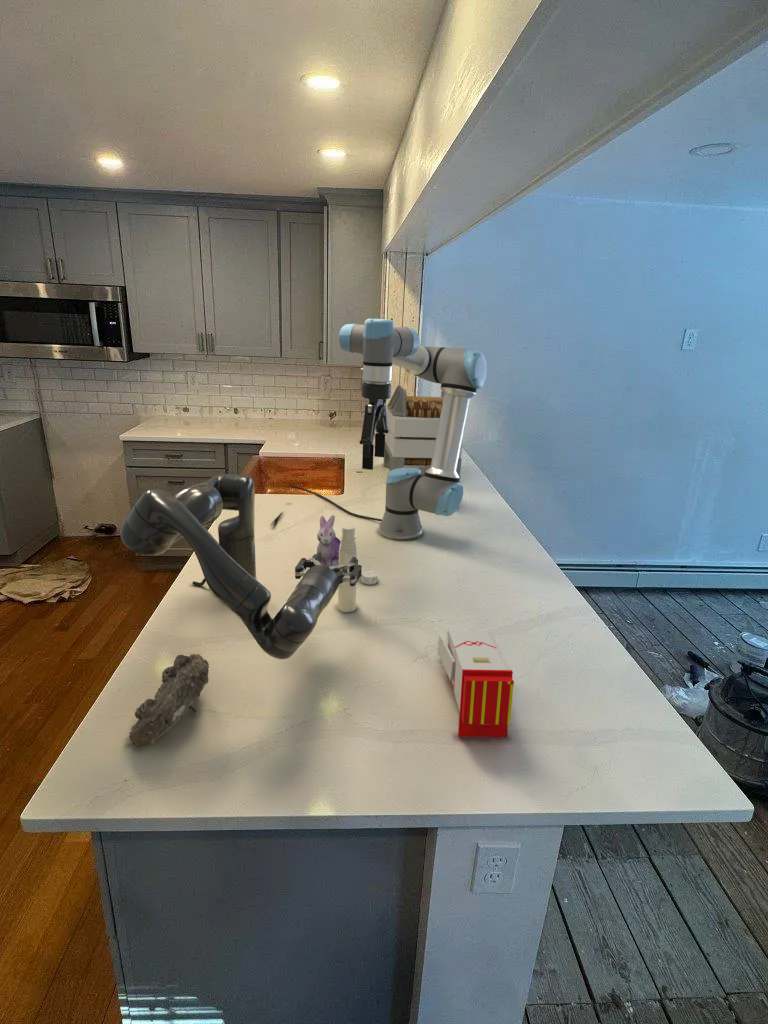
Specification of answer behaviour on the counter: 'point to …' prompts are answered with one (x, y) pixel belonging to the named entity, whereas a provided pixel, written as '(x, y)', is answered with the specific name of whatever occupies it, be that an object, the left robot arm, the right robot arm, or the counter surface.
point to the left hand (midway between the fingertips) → (337, 558)
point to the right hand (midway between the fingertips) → (373, 462)
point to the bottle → (345, 555)
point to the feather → (276, 520)
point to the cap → (369, 577)
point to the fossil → (170, 698)
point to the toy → (478, 682)
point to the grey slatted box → (412, 430)
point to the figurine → (328, 542)
